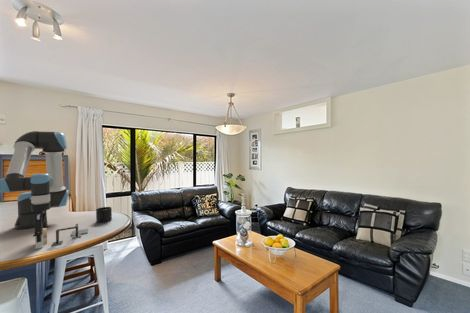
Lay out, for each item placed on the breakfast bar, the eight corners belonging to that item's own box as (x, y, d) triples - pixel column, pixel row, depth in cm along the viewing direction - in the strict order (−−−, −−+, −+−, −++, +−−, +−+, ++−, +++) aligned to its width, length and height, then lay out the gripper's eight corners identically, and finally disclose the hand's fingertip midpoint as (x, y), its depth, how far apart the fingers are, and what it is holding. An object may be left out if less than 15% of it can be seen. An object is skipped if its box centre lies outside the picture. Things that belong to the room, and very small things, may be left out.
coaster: (72, 232, 130) (72, 231, 130) (87, 229, 134) (87, 228, 134) (70, 236, 123) (70, 235, 123) (87, 233, 127) (87, 232, 127)
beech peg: (37, 244, 113) (36, 229, 113) (47, 242, 115) (47, 227, 115) (35, 247, 109) (34, 231, 109) (46, 244, 112) (46, 229, 112)
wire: (55, 239, 118) (54, 225, 118) (81, 235, 125) (81, 221, 125) (52, 246, 110) (51, 231, 110) (80, 240, 117) (80, 226, 117)
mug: (93, 224, 143) (93, 211, 143) (98, 219, 155) (97, 207, 155) (109, 223, 147) (109, 210, 147) (112, 218, 158) (112, 206, 158)
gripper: (36, 200, 120) (37, 238, 120) (25, 208, 100) (26, 254, 100) (53, 198, 124) (54, 235, 124) (46, 205, 105) (46, 250, 105)
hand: (41, 244), depth 112 cm, fingers open, 11 cm apart
